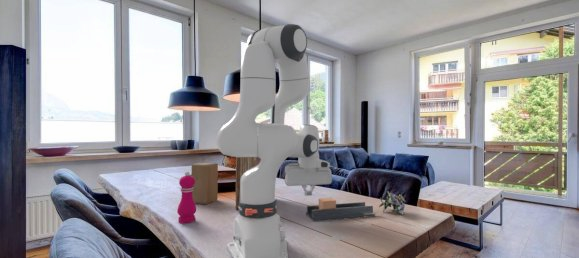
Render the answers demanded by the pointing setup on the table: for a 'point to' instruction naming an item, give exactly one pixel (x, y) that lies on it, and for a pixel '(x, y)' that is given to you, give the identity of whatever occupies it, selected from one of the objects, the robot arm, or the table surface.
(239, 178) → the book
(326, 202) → the block
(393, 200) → the grey-green leafy rounded clump
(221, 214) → the table surface
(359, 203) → the chute
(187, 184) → the pepper mill
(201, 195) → the wooden block
